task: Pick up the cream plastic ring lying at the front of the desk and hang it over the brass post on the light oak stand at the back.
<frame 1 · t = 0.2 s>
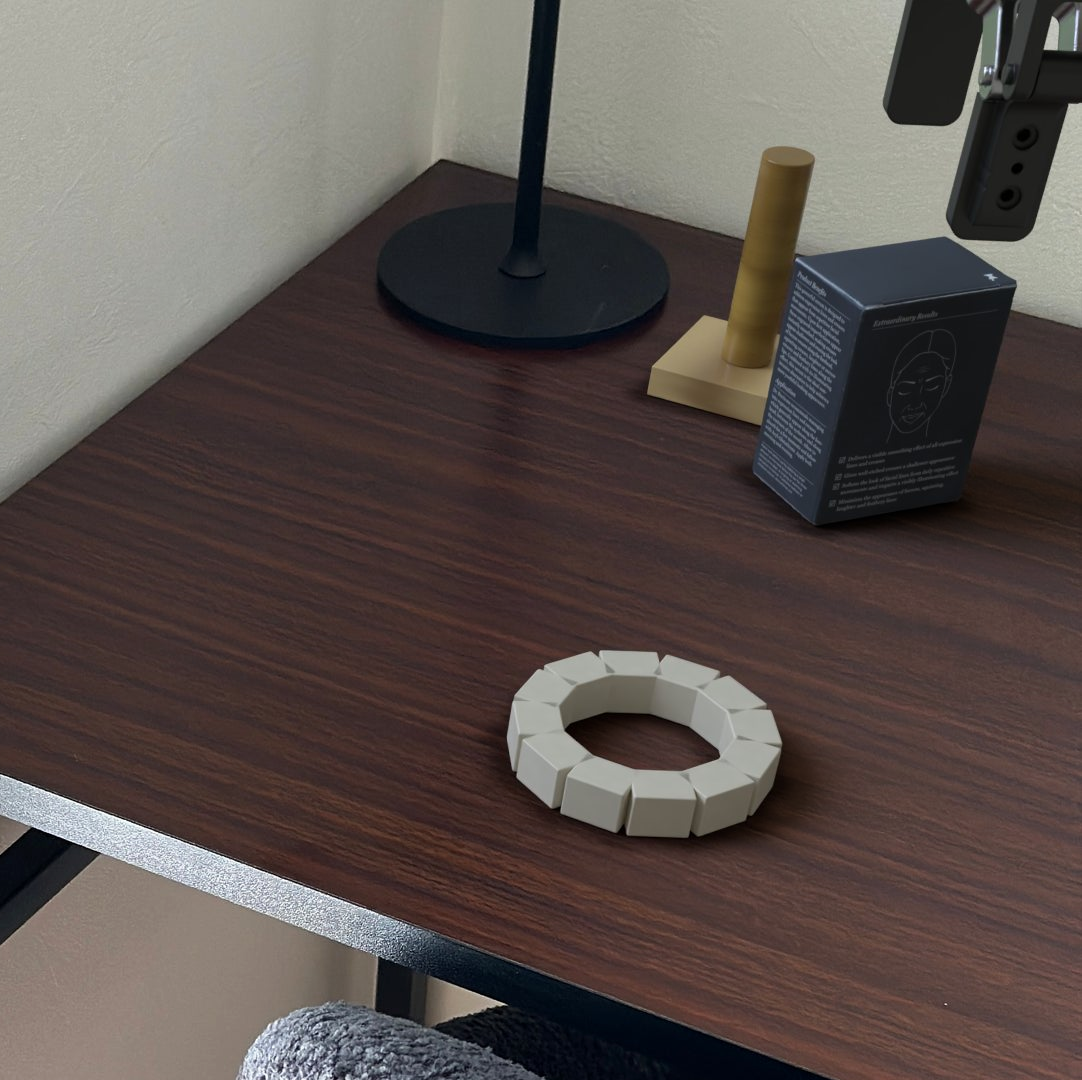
hand: (950, 175, 67), 27 cm above the table, tool pointing down, fingers open, 8 cm apart
post: (740, 386, 116), on the table
box: (852, 492, 108), on the table
ring: (638, 759, 91), on the table
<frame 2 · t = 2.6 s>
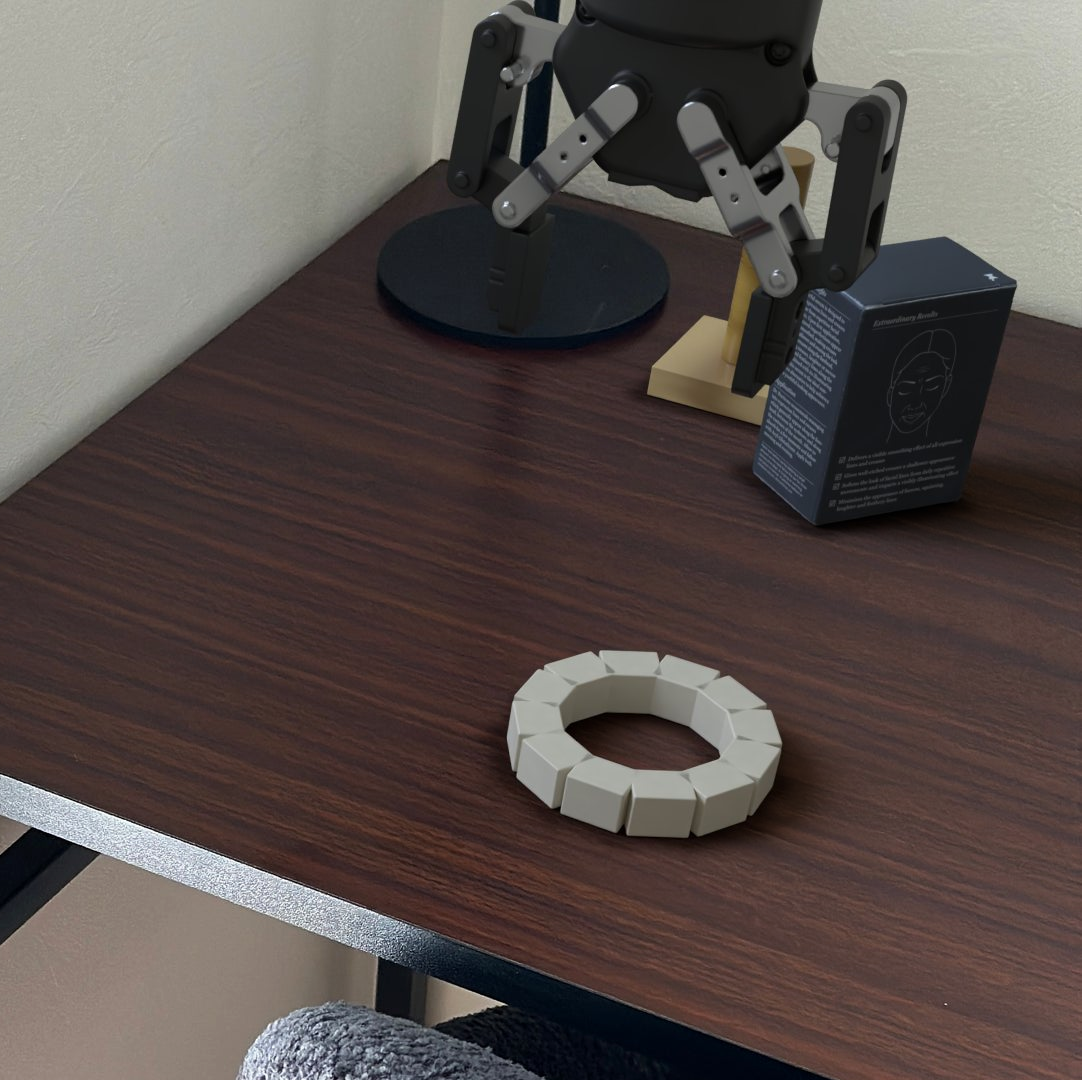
hand: (630, 355, 81), 16 cm above the table, tool pointing down, fingers open, 8 cm apart
nothing on the table moved.
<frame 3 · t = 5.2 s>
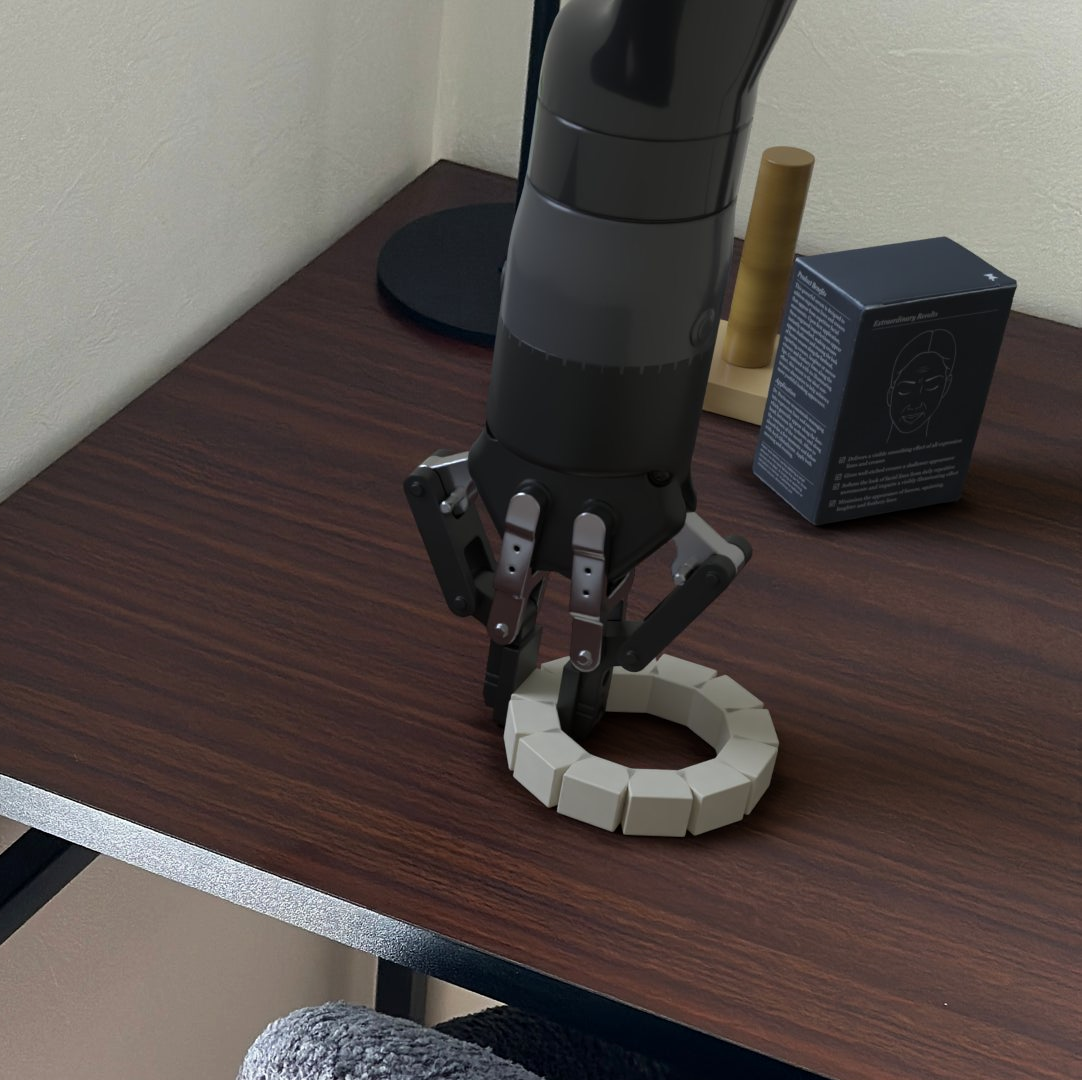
hand: (539, 724, 93), 0 cm above the table, tool pointing down, fingers closed on ring, 2 cm apart
ring: (635, 759, 91), on the table, touching gripper
everything else where it was.
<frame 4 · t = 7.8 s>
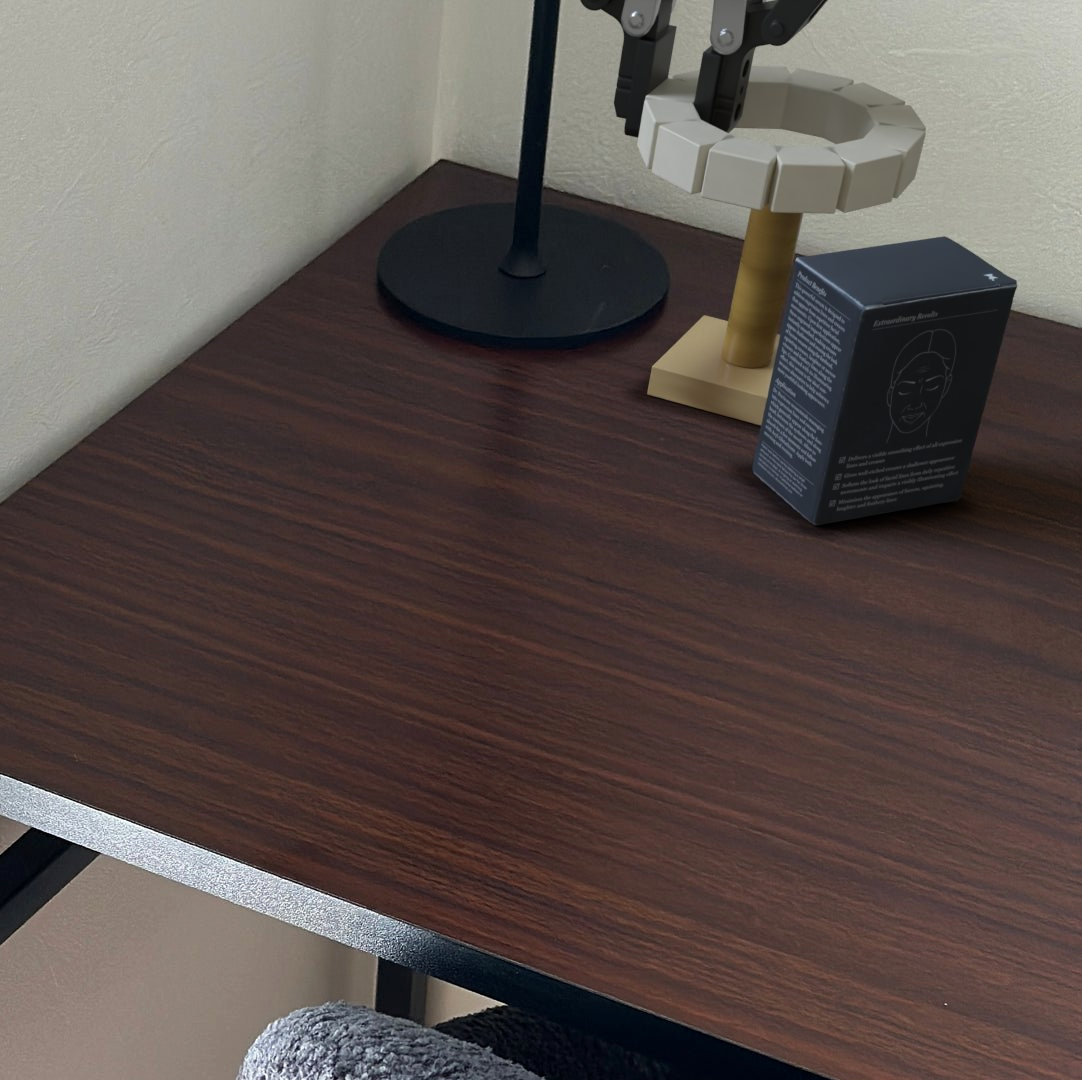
hand: (672, 135, 90), 19 cm above the table, tool pointing down, fingers closed on ring
ring: (774, 160, 88), point 19 cm above the table, touching gripper
everything else where it was.
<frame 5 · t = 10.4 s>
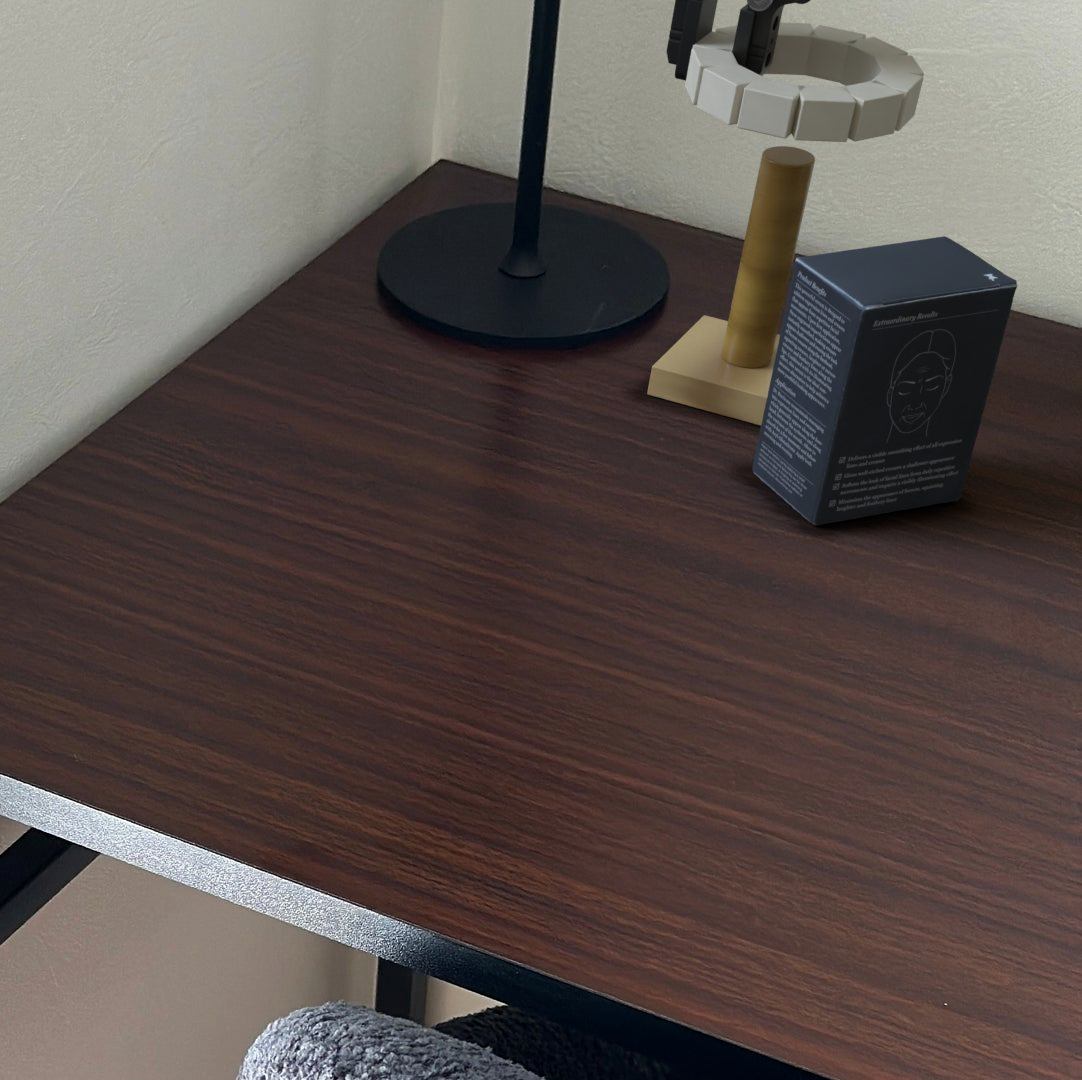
hand: (714, 79, 109), 14 cm above the table, tool pointing down, fingers closed on ring
ring: (798, 100, 107), point 14 cm above the table, touching gripper
everything else where it was.
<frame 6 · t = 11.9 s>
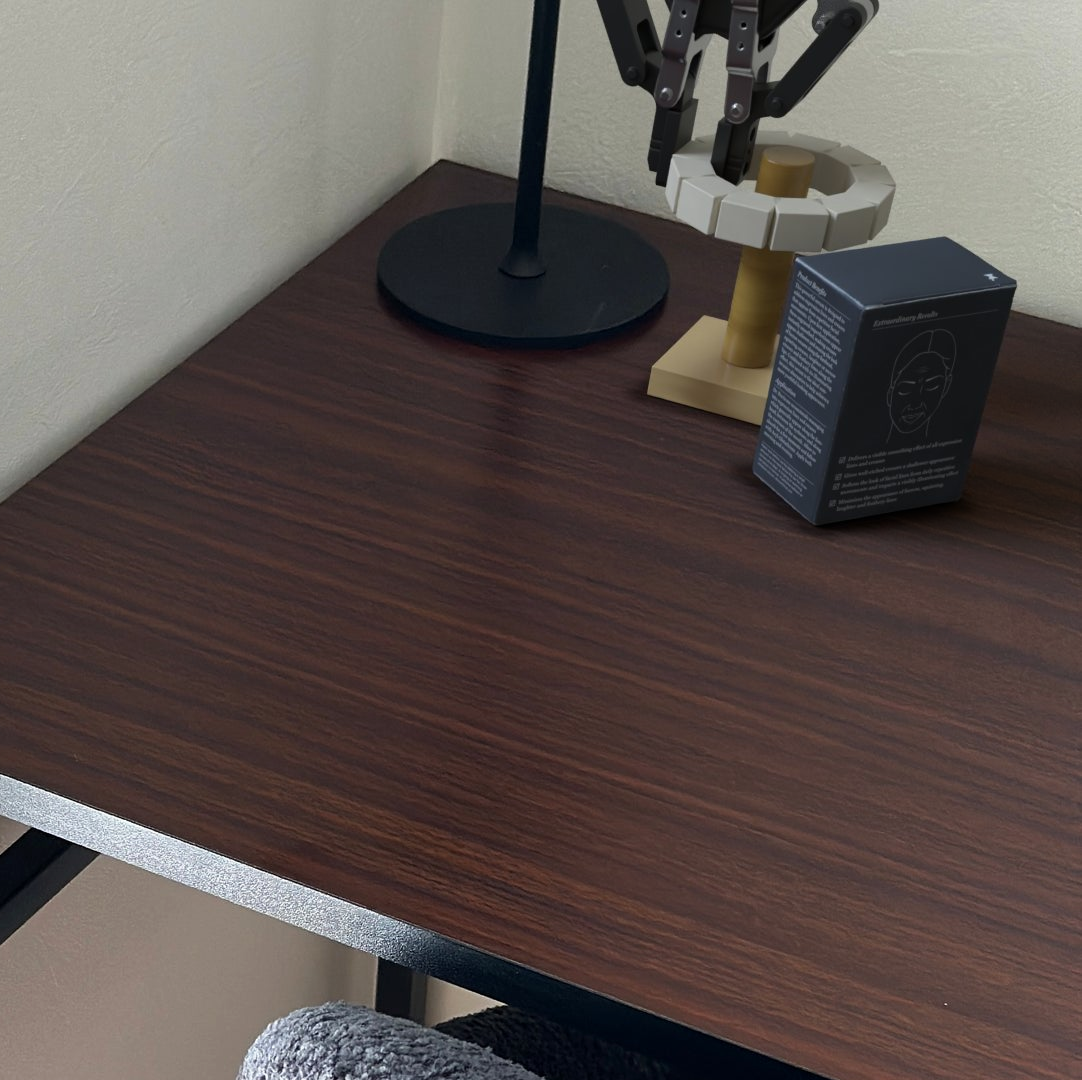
hand: (693, 186, 112), 9 cm above the table, tool pointing down, fingers closed on ring
ring: (775, 208, 110), point 9 cm above the table, touching gripper
everything else where it was.
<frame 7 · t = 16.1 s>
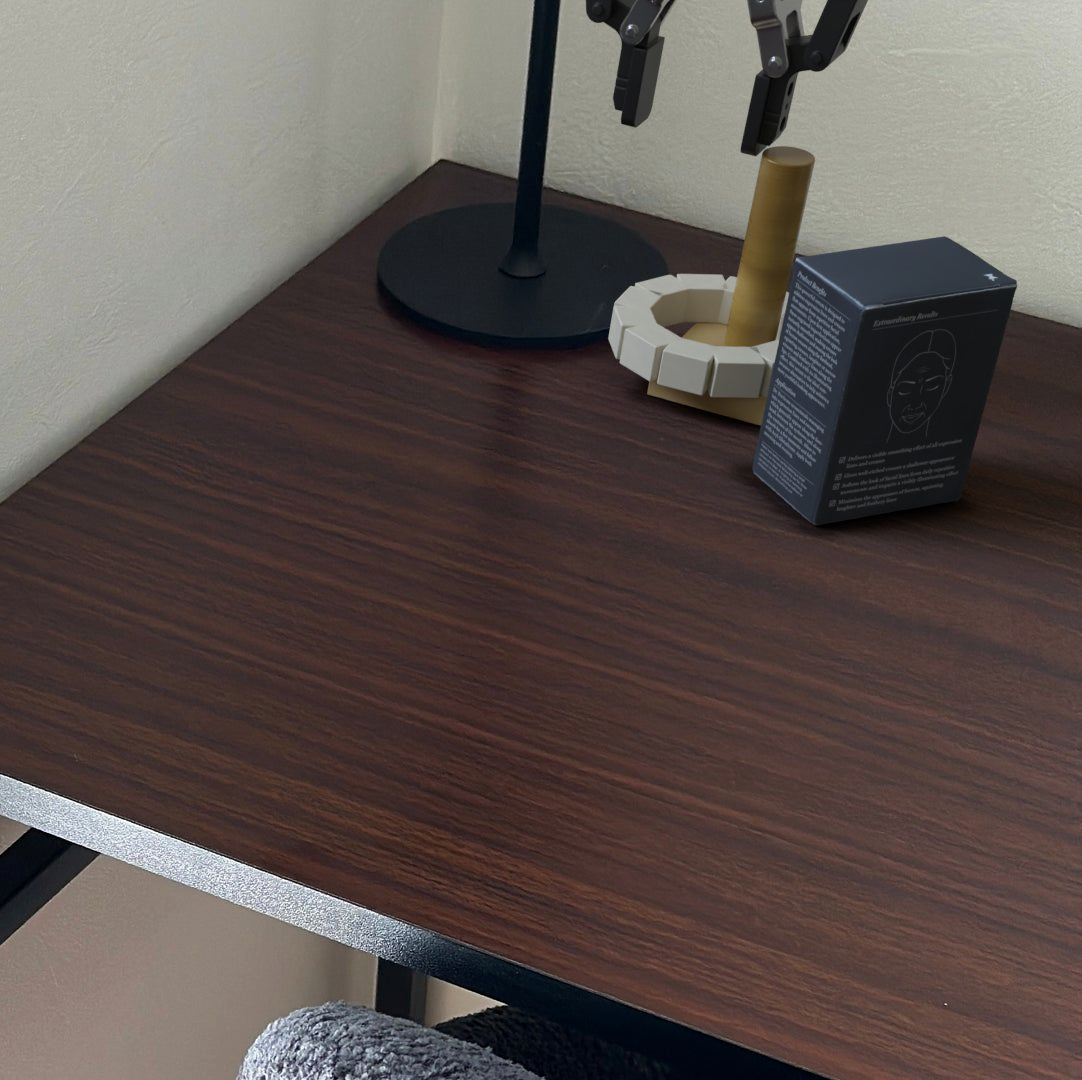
hand: (693, 133, 110), 11 cm above the table, tool pointing down, fingers open, 5 cm apart
ring: (713, 351, 115), point 1 cm above the table, touching post
everything else where it was.
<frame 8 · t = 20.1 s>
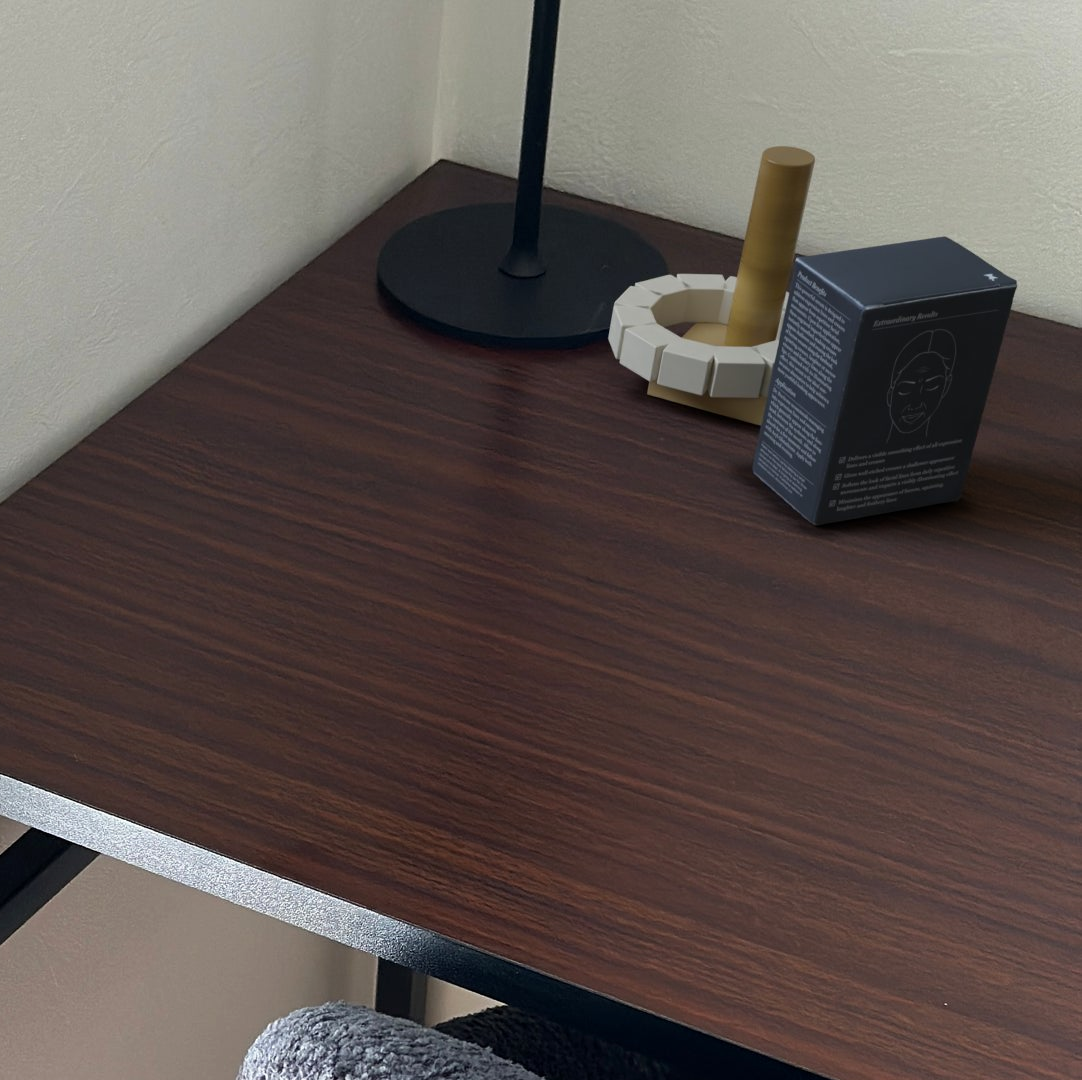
nothing on the table moved.
at the end: ring 1.6 cm from the post (horizontally); ring point 1.5 cm above the table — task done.
